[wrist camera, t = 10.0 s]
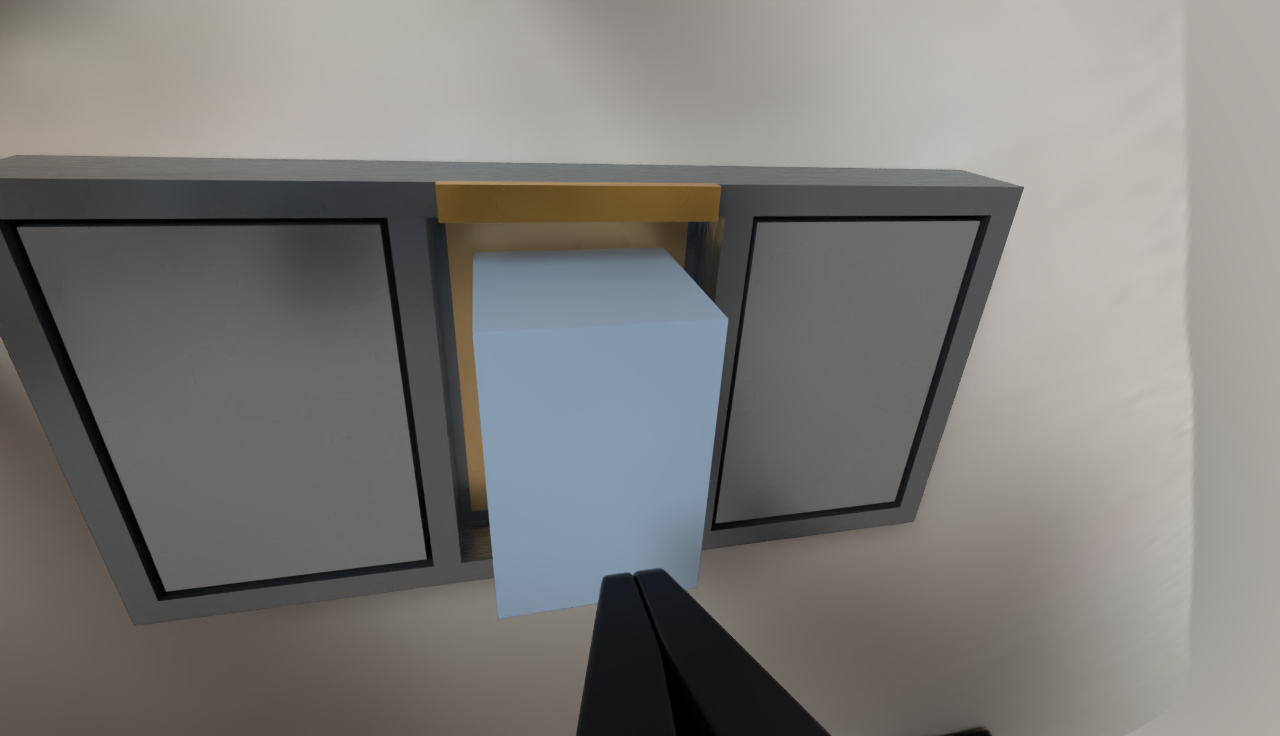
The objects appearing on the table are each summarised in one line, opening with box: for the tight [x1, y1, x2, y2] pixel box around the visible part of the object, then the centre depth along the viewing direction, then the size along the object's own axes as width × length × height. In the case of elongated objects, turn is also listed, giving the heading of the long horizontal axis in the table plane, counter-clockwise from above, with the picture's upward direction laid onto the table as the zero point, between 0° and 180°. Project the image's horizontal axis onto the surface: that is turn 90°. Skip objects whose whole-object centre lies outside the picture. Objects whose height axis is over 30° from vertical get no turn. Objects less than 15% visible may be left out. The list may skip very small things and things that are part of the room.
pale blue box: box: [472, 247, 728, 619], centre depth 13 cm, size 4×6×4 cm, turn 178°
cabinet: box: [0, 155, 1024, 626], centre depth 14 cm, size 19×9×2 cm, turn 87°
